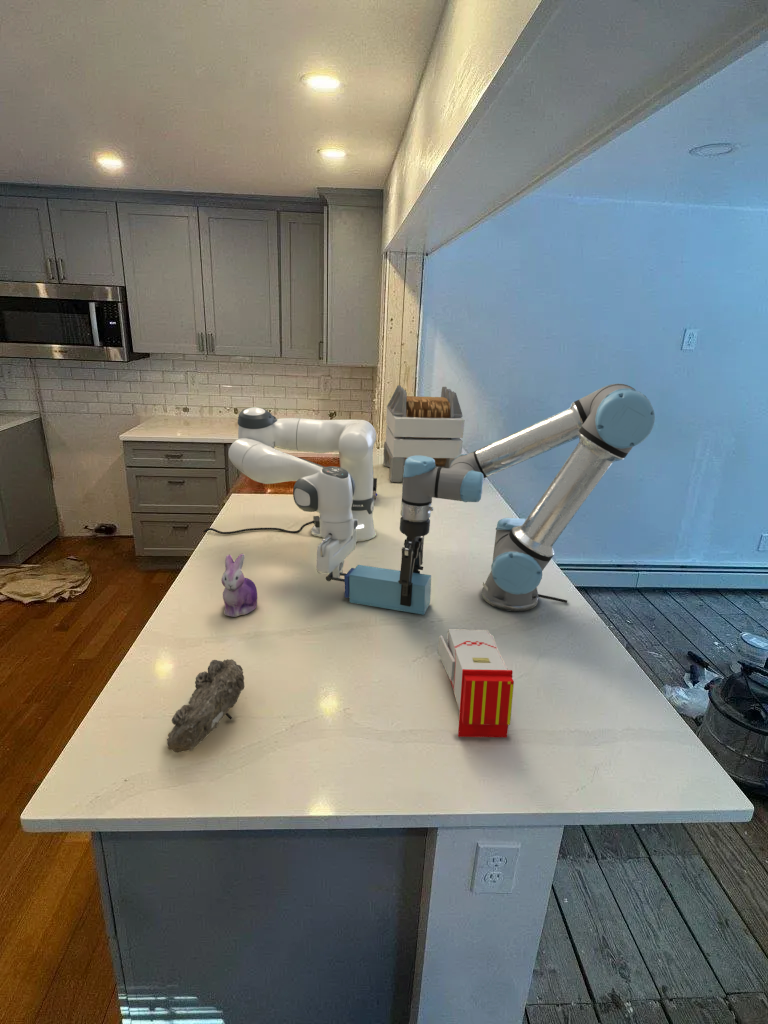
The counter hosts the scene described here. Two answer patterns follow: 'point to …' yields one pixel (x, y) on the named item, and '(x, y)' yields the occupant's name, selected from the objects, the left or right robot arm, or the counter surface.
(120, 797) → the counter surface
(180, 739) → the fossil
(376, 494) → the figurine character
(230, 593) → the figurine
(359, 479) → the left robot arm
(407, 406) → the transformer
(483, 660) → the toy
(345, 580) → the drawer
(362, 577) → the light-blue storage box
